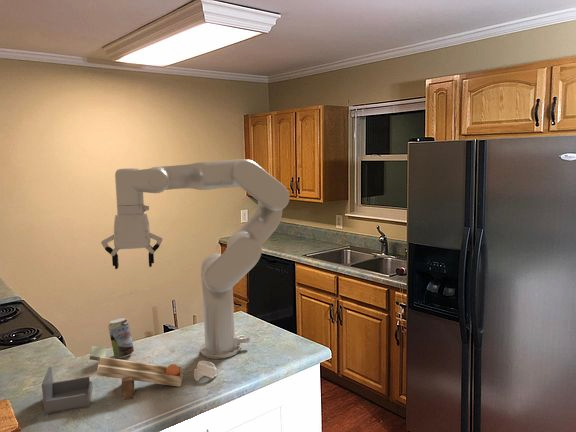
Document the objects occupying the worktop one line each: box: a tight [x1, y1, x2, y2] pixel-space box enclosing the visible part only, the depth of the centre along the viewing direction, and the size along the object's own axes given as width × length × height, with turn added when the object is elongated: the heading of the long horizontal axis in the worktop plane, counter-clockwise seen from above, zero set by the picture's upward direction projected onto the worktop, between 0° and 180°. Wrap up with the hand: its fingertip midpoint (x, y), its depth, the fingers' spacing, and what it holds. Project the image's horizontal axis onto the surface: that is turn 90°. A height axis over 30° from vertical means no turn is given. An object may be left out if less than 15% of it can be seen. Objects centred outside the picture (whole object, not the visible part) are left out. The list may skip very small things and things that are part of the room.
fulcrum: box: [121, 377, 135, 401], centre depth 125 cm, size 3×10×5 cm, turn 18°
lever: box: [89, 345, 184, 387], centre depth 129 cm, size 24×17×4 cm
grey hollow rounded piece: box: [193, 360, 218, 382], centre depth 132 cm, size 8×7×5 cm
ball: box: [166, 363, 180, 376], centre depth 128 cm, size 4×4×4 cm
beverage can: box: [107, 317, 135, 359], centre depth 146 cm, size 6×7×12 cm
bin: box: [41, 366, 94, 416], centre depth 120 cm, size 10×10×8 cm
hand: (133, 266), depth 138 cm, fingers open, 9 cm apart
